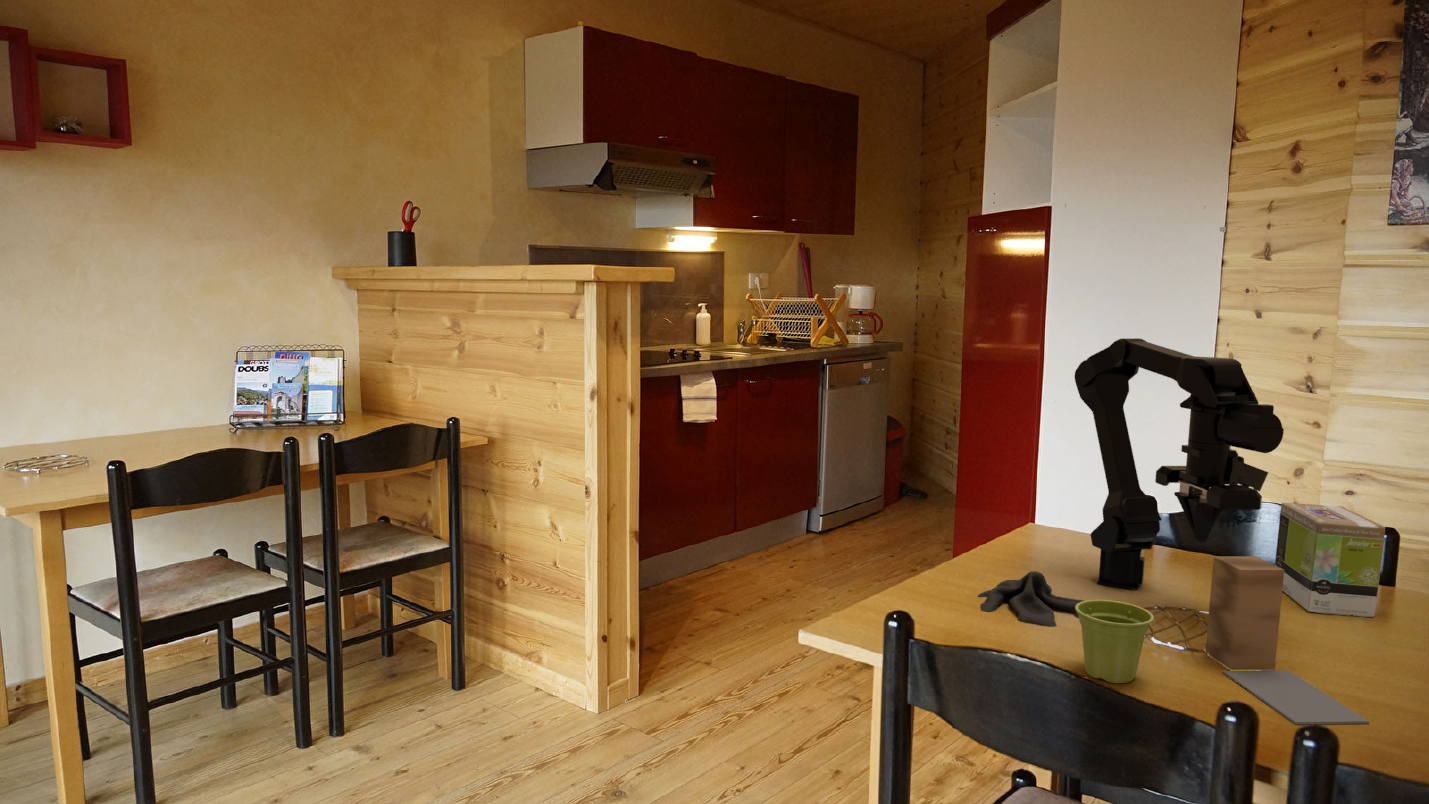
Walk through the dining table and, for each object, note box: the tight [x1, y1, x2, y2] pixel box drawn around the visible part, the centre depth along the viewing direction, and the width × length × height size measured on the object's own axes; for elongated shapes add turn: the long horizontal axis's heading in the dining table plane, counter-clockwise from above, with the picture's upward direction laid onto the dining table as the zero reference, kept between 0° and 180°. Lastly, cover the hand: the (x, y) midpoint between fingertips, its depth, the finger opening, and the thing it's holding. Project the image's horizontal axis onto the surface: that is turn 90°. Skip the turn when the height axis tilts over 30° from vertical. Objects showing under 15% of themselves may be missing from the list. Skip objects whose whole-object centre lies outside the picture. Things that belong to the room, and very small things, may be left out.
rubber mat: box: [1222, 669, 1370, 726], centre depth 117 cm, size 14×9×1 cm, turn 3°
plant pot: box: [1075, 599, 1155, 684], centre depth 123 cm, size 9×9×9 cm
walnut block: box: [1205, 555, 1284, 671], centre depth 127 cm, size 6×6×14 cm
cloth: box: [977, 570, 1086, 628], centre depth 149 cm, size 22×19×6 cm
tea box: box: [1274, 502, 1386, 618], centre depth 153 cm, size 15×10×15 cm, turn 168°
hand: (1200, 541), depth 144 cm, fingers closed
